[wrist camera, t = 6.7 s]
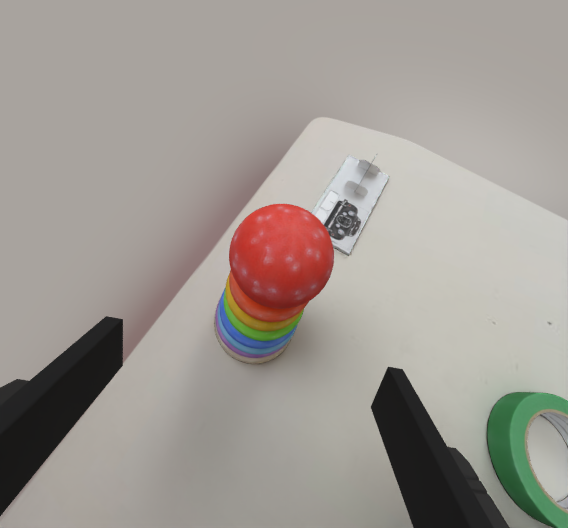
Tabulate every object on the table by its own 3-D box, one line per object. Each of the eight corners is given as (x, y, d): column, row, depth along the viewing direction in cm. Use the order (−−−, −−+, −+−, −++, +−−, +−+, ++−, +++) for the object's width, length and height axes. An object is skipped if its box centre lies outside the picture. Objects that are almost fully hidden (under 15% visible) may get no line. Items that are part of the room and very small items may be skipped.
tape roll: (568, 398, 30) (597, 399, 27) (608, 530, 25) (647, 545, 23) (476, 386, 29) (497, 386, 26) (499, 521, 24) (529, 536, 22)
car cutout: (347, 156, 40) (360, 131, 36) (387, 178, 39) (405, 154, 35) (301, 228, 33) (309, 207, 29) (347, 255, 33) (363, 237, 29)
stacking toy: (235, 380, 25) (228, 372, 8) (203, 305, 28) (147, 183, 11) (306, 340, 28) (409, 274, 11) (270, 275, 30) (311, 138, 13)
